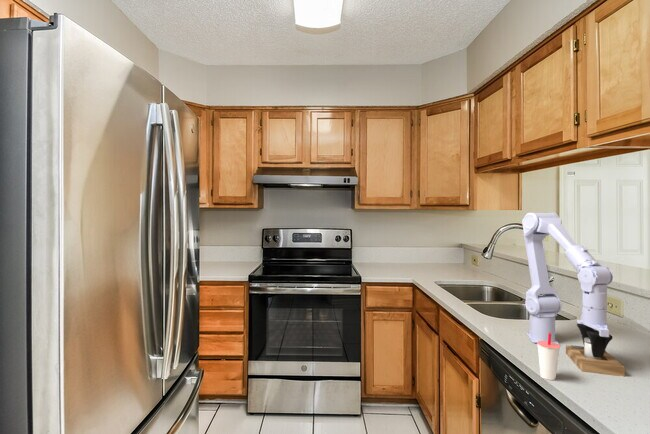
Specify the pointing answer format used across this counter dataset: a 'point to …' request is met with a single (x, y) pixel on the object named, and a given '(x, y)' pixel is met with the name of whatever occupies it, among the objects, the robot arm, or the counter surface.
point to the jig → (595, 362)
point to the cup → (548, 358)
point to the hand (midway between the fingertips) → (593, 353)
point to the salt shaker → (588, 349)
